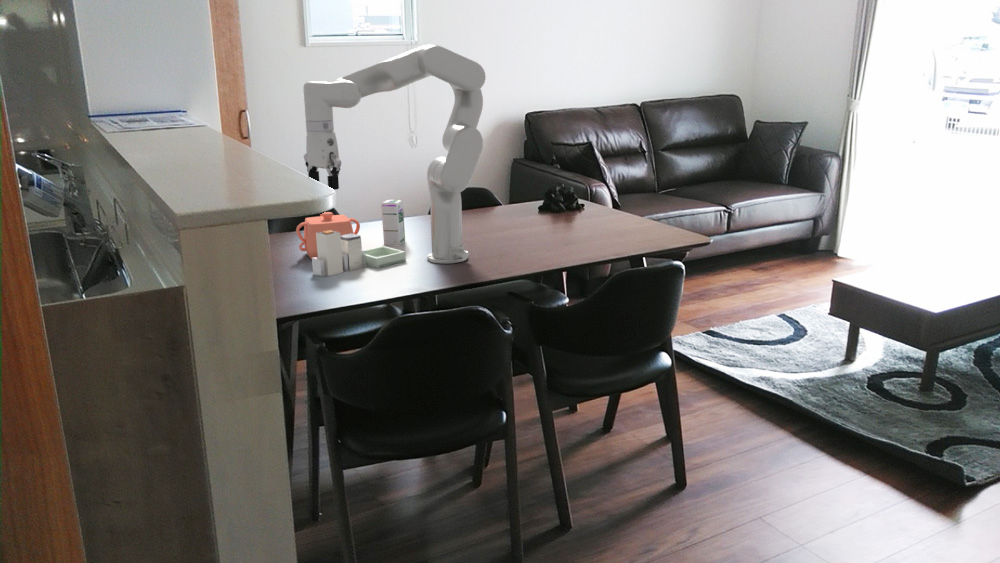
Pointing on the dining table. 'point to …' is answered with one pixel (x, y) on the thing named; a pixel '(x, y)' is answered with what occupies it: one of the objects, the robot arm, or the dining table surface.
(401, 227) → the syrup box
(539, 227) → the dining table surface
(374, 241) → the dining table surface
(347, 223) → the teapot
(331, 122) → the robot arm
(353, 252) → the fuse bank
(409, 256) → the dining table surface
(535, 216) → the dining table surface
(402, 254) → the tray
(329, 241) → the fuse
